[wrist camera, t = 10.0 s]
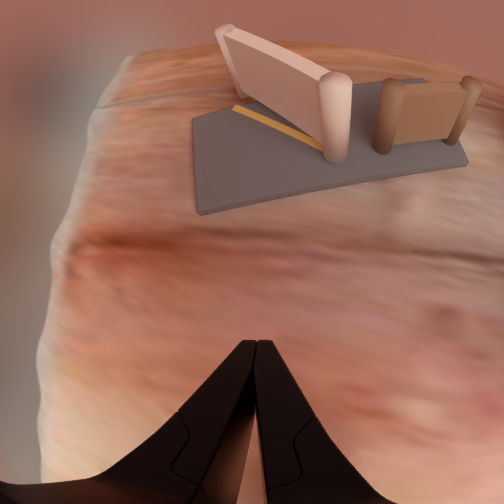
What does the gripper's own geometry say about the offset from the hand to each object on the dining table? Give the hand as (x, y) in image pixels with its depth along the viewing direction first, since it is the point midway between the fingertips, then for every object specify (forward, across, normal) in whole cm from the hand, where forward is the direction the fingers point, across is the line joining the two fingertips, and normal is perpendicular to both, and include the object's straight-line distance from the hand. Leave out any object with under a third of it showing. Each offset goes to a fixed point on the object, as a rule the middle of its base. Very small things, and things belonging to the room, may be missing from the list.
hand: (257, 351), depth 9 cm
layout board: (+21, -5, -5) cm, 22 cm away
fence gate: (+21, -2, -6) cm, 22 cm away
